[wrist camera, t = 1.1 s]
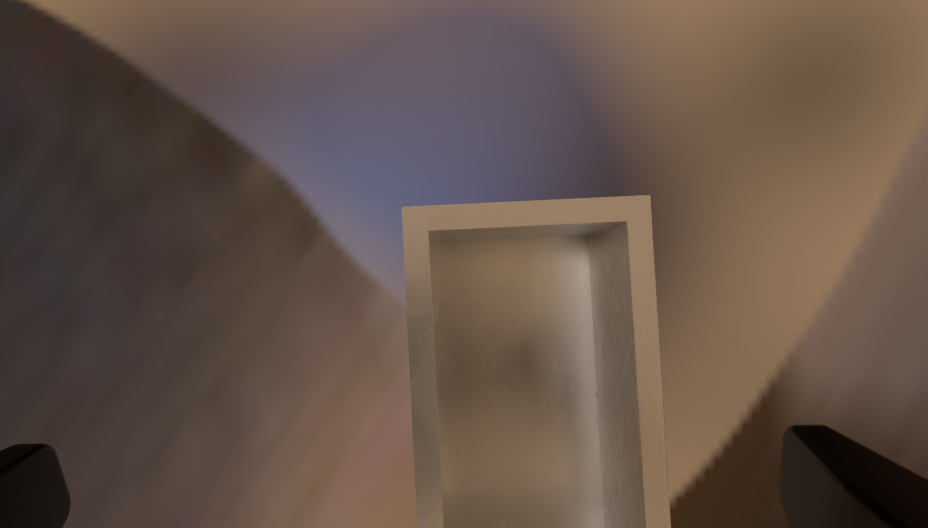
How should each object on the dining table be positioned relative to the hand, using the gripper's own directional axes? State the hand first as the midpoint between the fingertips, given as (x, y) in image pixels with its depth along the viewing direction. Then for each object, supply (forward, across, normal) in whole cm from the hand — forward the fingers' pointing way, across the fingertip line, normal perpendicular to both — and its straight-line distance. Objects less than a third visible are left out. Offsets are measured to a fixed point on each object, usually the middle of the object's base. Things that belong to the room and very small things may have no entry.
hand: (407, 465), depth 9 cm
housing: (+12, -1, +6) cm, 13 cm away
